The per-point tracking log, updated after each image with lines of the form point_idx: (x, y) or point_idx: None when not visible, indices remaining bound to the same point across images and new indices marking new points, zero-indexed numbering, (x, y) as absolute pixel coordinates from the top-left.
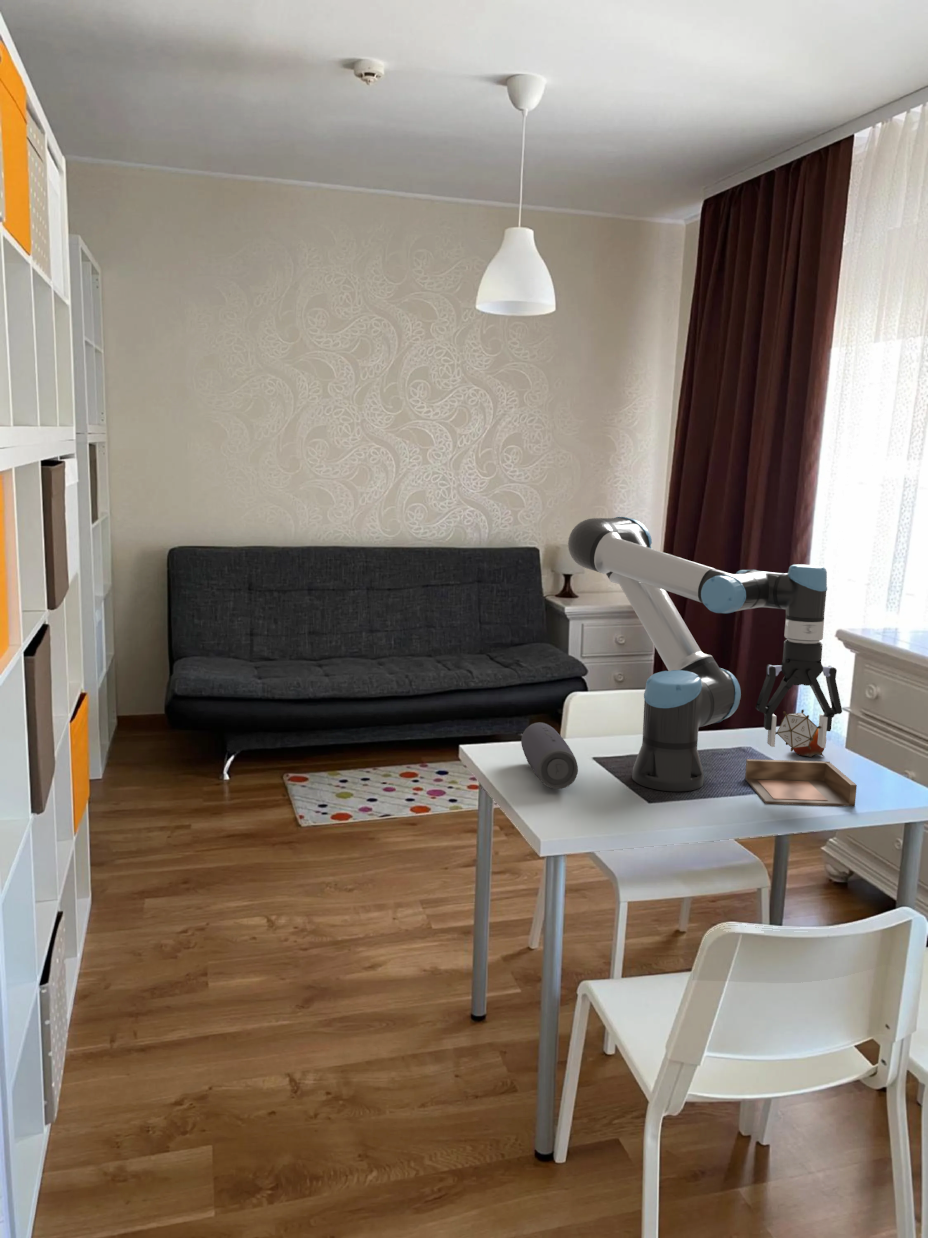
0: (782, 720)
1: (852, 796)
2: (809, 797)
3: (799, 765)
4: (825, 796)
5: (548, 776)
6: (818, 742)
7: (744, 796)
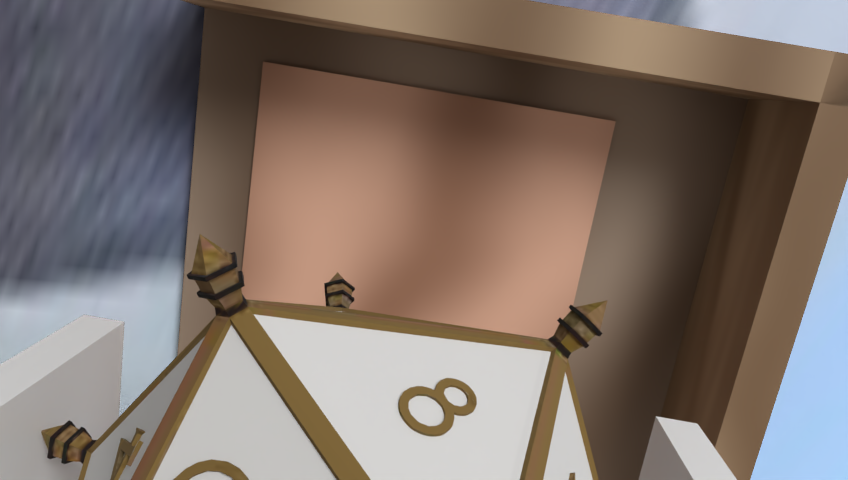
0: (203, 278)
1: None
2: None
3: (587, 65)
4: None
5: None
6: (657, 461)
7: (98, 303)
